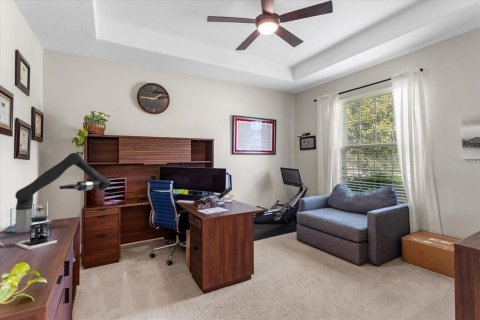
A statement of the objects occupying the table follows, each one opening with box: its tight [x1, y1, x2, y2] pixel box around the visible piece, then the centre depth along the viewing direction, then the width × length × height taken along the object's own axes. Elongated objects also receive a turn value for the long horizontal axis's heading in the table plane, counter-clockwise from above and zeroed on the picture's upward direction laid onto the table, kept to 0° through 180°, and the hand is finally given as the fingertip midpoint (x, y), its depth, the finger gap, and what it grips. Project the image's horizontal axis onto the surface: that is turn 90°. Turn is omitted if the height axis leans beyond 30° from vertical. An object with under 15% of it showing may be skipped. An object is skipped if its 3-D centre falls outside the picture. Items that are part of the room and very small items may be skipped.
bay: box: [14, 238, 58, 250], centre depth 153 cm, size 18×16×1 cm
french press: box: [28, 207, 52, 246], centre depth 154 cm, size 12×9×23 cm
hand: (60, 187), depth 172 cm, fingers closed
